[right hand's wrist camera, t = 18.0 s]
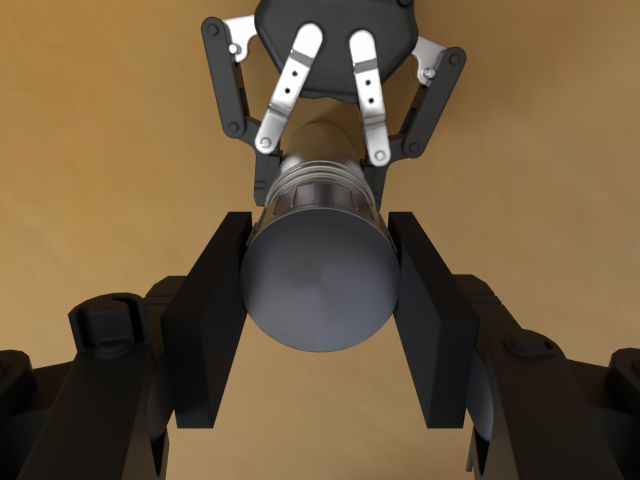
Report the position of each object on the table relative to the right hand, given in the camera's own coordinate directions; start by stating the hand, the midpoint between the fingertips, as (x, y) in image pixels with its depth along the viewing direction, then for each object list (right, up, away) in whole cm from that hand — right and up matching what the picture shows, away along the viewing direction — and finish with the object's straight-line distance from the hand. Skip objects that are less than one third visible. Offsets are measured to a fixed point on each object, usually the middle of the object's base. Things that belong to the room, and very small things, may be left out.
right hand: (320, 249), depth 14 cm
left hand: (0, +2, +12) cm, 12 cm away
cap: (0, -1, -2) cm, 2 cm away
